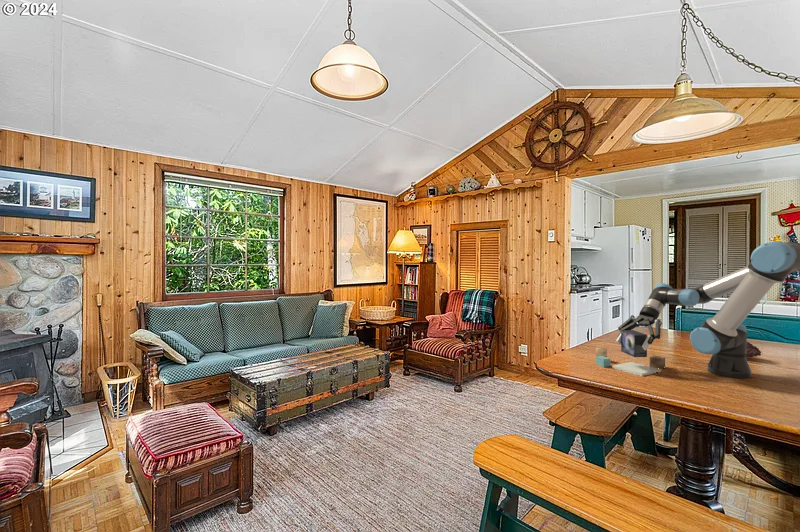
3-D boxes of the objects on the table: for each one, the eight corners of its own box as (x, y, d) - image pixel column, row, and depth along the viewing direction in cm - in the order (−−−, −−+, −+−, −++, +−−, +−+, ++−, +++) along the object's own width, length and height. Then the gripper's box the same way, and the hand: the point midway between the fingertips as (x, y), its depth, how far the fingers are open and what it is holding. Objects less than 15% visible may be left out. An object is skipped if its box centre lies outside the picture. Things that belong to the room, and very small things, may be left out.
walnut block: (665, 367, 183) (665, 357, 183) (661, 369, 180) (662, 359, 180) (653, 365, 187) (653, 355, 187) (649, 367, 184) (649, 357, 183)
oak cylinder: (609, 361, 194) (609, 349, 194) (602, 362, 192) (602, 350, 192) (600, 359, 199) (600, 347, 199) (593, 360, 197) (593, 348, 197)
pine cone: (768, 362, 190) (768, 342, 189) (750, 363, 188) (751, 343, 188) (732, 353, 207) (732, 335, 207) (716, 354, 206) (716, 336, 205)
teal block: (610, 366, 185) (610, 358, 185) (603, 367, 184) (603, 359, 184) (602, 364, 190) (602, 356, 190) (595, 364, 189) (595, 356, 189)
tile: (660, 371, 176) (660, 369, 176) (641, 376, 170) (641, 373, 170) (631, 364, 189) (631, 361, 189) (612, 368, 183) (612, 365, 183)
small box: (619, 351, 185) (620, 330, 185) (632, 351, 186) (633, 329, 185) (633, 357, 175) (634, 334, 175) (647, 357, 175) (648, 334, 175)
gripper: (681, 319, 176) (660, 356, 170) (630, 312, 197) (610, 345, 191) (674, 308, 173) (653, 346, 167) (624, 302, 195) (603, 335, 189)
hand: (630, 345), depth 179 cm, fingers closed on small box, 12 cm apart
